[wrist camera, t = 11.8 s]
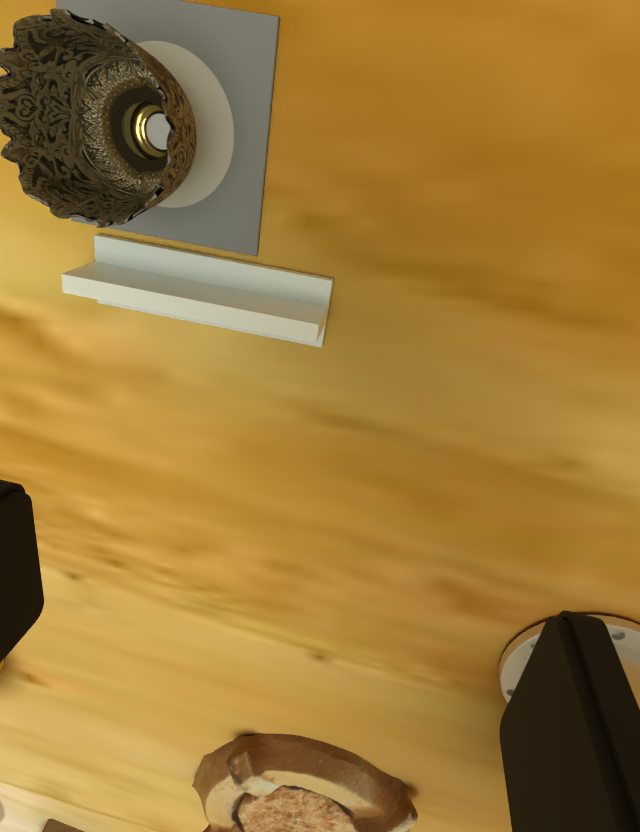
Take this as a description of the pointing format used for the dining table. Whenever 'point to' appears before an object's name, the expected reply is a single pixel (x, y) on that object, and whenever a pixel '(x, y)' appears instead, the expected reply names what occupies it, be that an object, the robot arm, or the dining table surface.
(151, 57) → the ornate metal lamp shade
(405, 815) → the ashtray
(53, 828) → the wooden block set
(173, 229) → the rest pad
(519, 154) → the dining table surface
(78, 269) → the low wall
